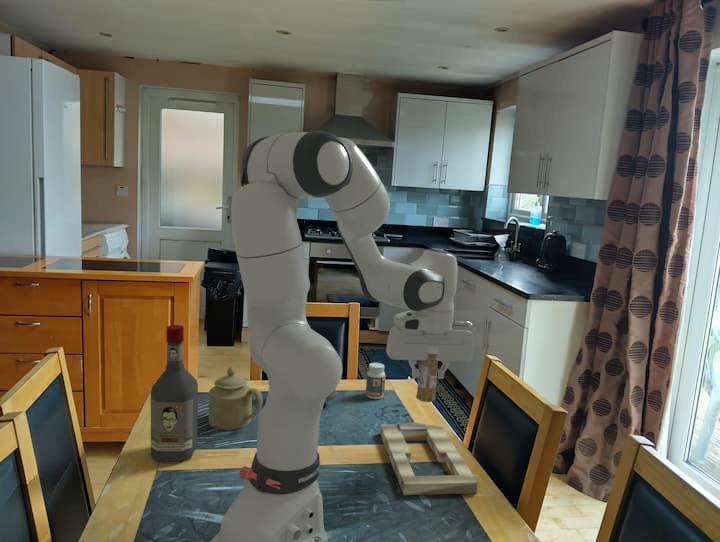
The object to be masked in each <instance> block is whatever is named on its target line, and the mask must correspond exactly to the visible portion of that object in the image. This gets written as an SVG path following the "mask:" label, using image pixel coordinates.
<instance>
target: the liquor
mask: <svg viewBox="0 0 720 542" xmlns="http://www.w3.org/2000/svg"><path fill="white" fill-rule="evenodd" d="M184 329H185V328H184V326H183V325H178V324H175V325H168V326H166V342H167V343H166V345H167V346H166V347H167V348H166V349H167V350H166V366H165V370H164V371H163V372H162V373H161V375H160V376H159V377H158V378H157V380H156V381H155V383H154V384H152V387H151V389H150V456H151V457H152V459H153V460H154V459H155V461H156V462H157V461H158V462H157V463H159V462H174V464H176V463H175V462H181V463H184V462H186V461H189V460H190V459H192V457H193V455H194V452H195V450H196V447H197V446H198V409H199V407H198V401H199V398H198V397H199V396H198V395H199V394H198V393H199V386H198V385H199V383H198V380H197V378H196V377H194V375H192V373H190V371H188V369H186V368H185V363H184V359H183V358H184V357H183V356H184V355H183V353H184V352H183V351H184V350H183V349H184V348H183V347H184V346H183V343H184V340H185V339H184V338H185V337H184V331H185V330H184ZM183 461H184V462H183Z"/></svg>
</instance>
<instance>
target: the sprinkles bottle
mask: <svg viewBox="0 0 720 542" xmlns="http://www.w3.org/2000/svg"><path fill="white" fill-rule="evenodd" d="M438 349H439V347H438V346H428V347H427V354H428V358H427V360H419V365H418V369H419V371H420V378H417V391H416V396H415V398H416V399H417V400H418V401H421V402H425V403H430V402H431V403H432V402H434V401H435V400H436V390H437V389H436V388H437V380H438V379H437V371H438V370H439V367H438V366H439V361H437V360H436V356H437V354H438ZM435 354H436V355H435Z"/></svg>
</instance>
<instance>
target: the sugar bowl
mask: <svg viewBox="0 0 720 542" xmlns="http://www.w3.org/2000/svg"><path fill="white" fill-rule="evenodd" d="M226 374H227V375H224V376H221V377H219V378H218V379H215V380H214V381H213V384H214V386H213V387H211V388H210V389H209V391H208V424H209V425H210V426H211V427H212V428H214V429H217V430H223V431H231V430H232V431H233V430H238V429H243V428H245V427H246V426H248V425H249V424H250V423H251V422H252V418H255V417H256V416H258V415H259V412H260V411H261V410H262V408H263V407H262V406H263V401H264V399H263V395H262V392H261V391H260V390H259V389H258V388H255V387H250V386H249V385H247V384H248V381H247V380H246V379H245V378H243V377H241V376H239V375H236V374H235V369H234V367H233V366H230V367H228V368H227V372H226ZM253 395H254V396H255V400H256V404H255V405H256V406H255V408H254V411H252V406H253V404H252V403H253Z"/></svg>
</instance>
